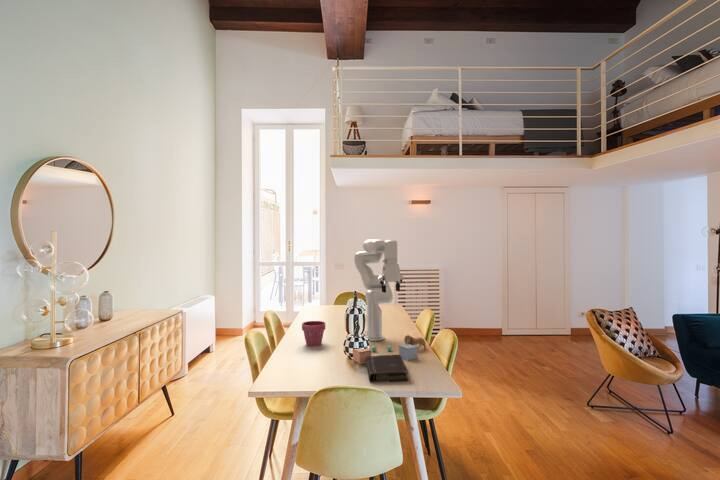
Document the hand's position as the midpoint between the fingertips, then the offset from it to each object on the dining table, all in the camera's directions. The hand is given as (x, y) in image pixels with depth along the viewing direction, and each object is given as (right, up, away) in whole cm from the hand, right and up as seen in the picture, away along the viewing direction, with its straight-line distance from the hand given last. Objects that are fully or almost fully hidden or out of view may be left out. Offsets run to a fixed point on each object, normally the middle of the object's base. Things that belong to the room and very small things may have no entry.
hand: (390, 291), depth 223 cm
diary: (-5, -34, -37) cm, 51 cm away
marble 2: (-1, -31, -1) cm, 31 cm away
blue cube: (+8, -33, -15) cm, 37 cm away
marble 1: (-10, -30, -3) cm, 32 cm away
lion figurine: (+14, -34, -1) cm, 36 cm away
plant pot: (-46, -34, +12) cm, 58 cm away
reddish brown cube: (-17, -34, -20) cm, 43 cm away
